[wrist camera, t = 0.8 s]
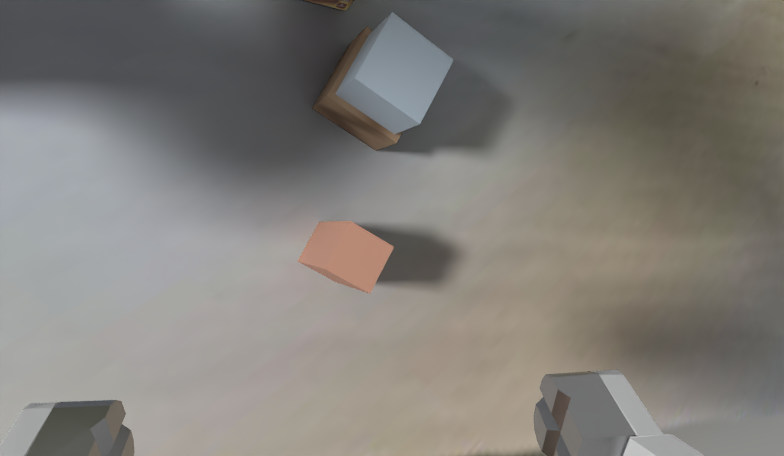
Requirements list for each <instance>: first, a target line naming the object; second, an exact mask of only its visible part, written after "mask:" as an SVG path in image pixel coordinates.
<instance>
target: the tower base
mask: <svg viewBox="0 0 784 456" xmlns="http://www.w3.org/2000/svg"><path fill="white" fill-rule="evenodd" d="M372 31H373V30H371V29H370V28H369V27H366V28H365V29H364V30H363V31H362V32H361V33H360V34H359V35H358V36H357V37H356V38H355V39H354V40H353V41H352V42H351V43H350V44H349V46H348V47H347V49H346V51H345V52H344V54H343V56H342V58H341V59H340V61H339V63H338V65H337V66H336V68H335V70H334V72H333V73H332V75H331V77H330V78H329V80H328V82H327V84H326V85H325V87H324V89H323V91H322V92H321V94H320V96H319V98H318V99H317V101H316V103H315V104H314V106H313V108H312V109H314V110H315V111H317V112H318V113H320V114H321V115H323V116H324V117H326V118H327V119H329V120H330V121H332V122H333V123H335V124H337V125H338V126H340V127H341V128H343V129H344V130H346V131H347V132H349V133H350V134H352V135H353V136H355V137H356V138H358V139H359V140H361V141H362V142H364V143H365V144H367V145H368V146H370V147H371V148H373V149H374V150H376V151H377V150H379V149H382V148H385V147H387V146H390V145H393V144H396V143H397V142H398V140H399V138H400V136H401V134H402V132H403V131H402V132H399V133H397V134H393V133H392V132H390V131H389V130H387V129H386V128H384V127H383V126H381V125H380V124H379V123H377V122H376V121H374V120H373V119H371V118H370V117H368V116H367V115H365V114H364V113H362V112H361V111H359V110H358V109H357V108H355V107H354V106H352V105H351V104H349V103H348V102H346V101H345V100H343V99H342V98H340V97H339V96H337V95H336V94H335V93H336V91H337V90H338V88H339V86H340V84H341V83H342V81H343V79H344V77H345V76H346V74H347V72H348V70H349V69H350V67H351V65H352V63H353V62H354V60H355V58H356V56H357V55H358V53H359V51H360V49H361V48H362V46H363V44H364V42H365V41H366V39H367V37H368V35H369V34H370V33H371V32H372Z"/></svg>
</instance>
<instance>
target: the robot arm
mask: <svg viewBox="0 0 784 456" xmlns="http://www.w3.org/2000/svg"><path fill="white" fill-rule="evenodd" d="M540 390H541V392H542V395H543V398H542V399H541V400H540V401H539V402H538V403H537V404H536V406H535V411H534V430H535V434H536V438H537V441H538V444H539V446H540V449H541V451H542V452H543V453H544V454H545V455H546V456H704V455H703V454H701V453H700V452H698V451H697V450H695V449H694V448H692V447H691V446H689V445H687V444H686V443H684V442H683V441H681V440H680V439H678V438H676V437H675V436H673V435H672V434H663V432H662V431H661V429H660V428H659V426H658V425H657V423H656V422H655V421H654V419H653V418H652V416H651V415H650V413H649V412H648V410H647V409H646V407H645V406H644V404H643V403H642V401H641V400H640V398H639V397H638V395H637V394H636V392H635V391H634V390H633V388H632V387H631V385H630V384H629V382H628V381H627V379H626V378H625V376H624V375H623V373H621V372H620V371H618V370H604V371H593V372H591V371H588V372H573V373H559V374H546V375H545V376H544V377H543V378H542V381H541V385H540ZM125 414H126V413H125V410H124V407H123V405H122V402H121V401H118V400H102V401H73V402H57V403H31V404H29V405H28V406H27V407H26V408H24V409H23V410H22V411H21V413H20V414H19V416H18V417H17V419H16V421H15V422H14V424H13V425H12V427H11V428H10V430H9V432H8V433H7V435H6V436H5V438H4V440H3V441H2V443H1V444H0V456H134V440H133V436H132V433H131V430H130V429H128V428H127V427H125V426H124V425H123V424H122V422H123V419H124V417H125Z"/></svg>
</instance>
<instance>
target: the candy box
mask: <svg viewBox="0 0 784 456" xmlns="http://www.w3.org/2000/svg"><path fill="white" fill-rule="evenodd" d="M305 1H309V2H313V3H317V4H321V5H325V6H329V7H333V8H336V9H340V10H343V11H345V10H347V9H348V7H349V6H350V5H351V4H352V2H353V1H354V0H305Z"/></svg>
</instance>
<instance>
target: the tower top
mask: <svg viewBox="0 0 784 456" xmlns="http://www.w3.org/2000/svg"><path fill="white" fill-rule="evenodd" d="M453 61H454V60H453V59H452V58H451V57H449V56H448V55H447V54H446V53H444V52H443V51H442V50H440V49H439V48H438V47H437V46H435V45H434V44H433V43H431V42H430V41H429V40H428V39H426V38H425V37H424V36H422V35H421V34H420V33H419V32H417V31H416V30H415V29H413V28H412V27H411V26H410V25H408V24H407V23H406V22H404V21H403V20H402V19H401V18H399V17H398V16H397V15H396V14H394V13H393V12H392V13H391V14H390V15H389V16H388V17H387V18H386V19H385V20H383V21H382V22H381V23H380V24H379V25H378V26H377V27H376V28H375V29H374V30H373V31H372V32H371V33H370V34H369V35H368V37H367V39H366V41H365V42H364V44H363V46H362V48H361V49H360V51H359V53H358V55H357V56H356V58H355V60H354V62H353V63H352V65H351V67H350V69H349V70H348V72H347V74H346V76H345V77H344V79H343V81H342V83H341V84H340V86H339V88H338V90H337V91H336V93H335V94H336V95H337V96H339V97H340V98H342V99H343V100H345V101H346V102H348V103H349V104H351V105H352V106H354V107H355V108H357V109H358V110H359V111H361V112H362V113H364V114H365V115H367V116H368V117H370V118H371V119H373V120H374V121H376V122H377V123H379V124H380V125H381V126H383V127H384V128H386V129H387V130H389V131H390V132H392V133H393V134H397V133H399V132H402V131H404V130H407V129H409V128H412V127H414V126H417V125H419V124H420V123H421V121H422V119H423V118H424V116H425V114H426V112H427V110H428V108H429V106H430V104H431V102H432V101H433V99H434V97H435V95H436V93H437V91H438V89H439V87H440V85H441V84H442V82H443V80H444V78H445V76H446V74H447V72H448V70H449V68H450V67H451V65H452V63H453Z"/></svg>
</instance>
